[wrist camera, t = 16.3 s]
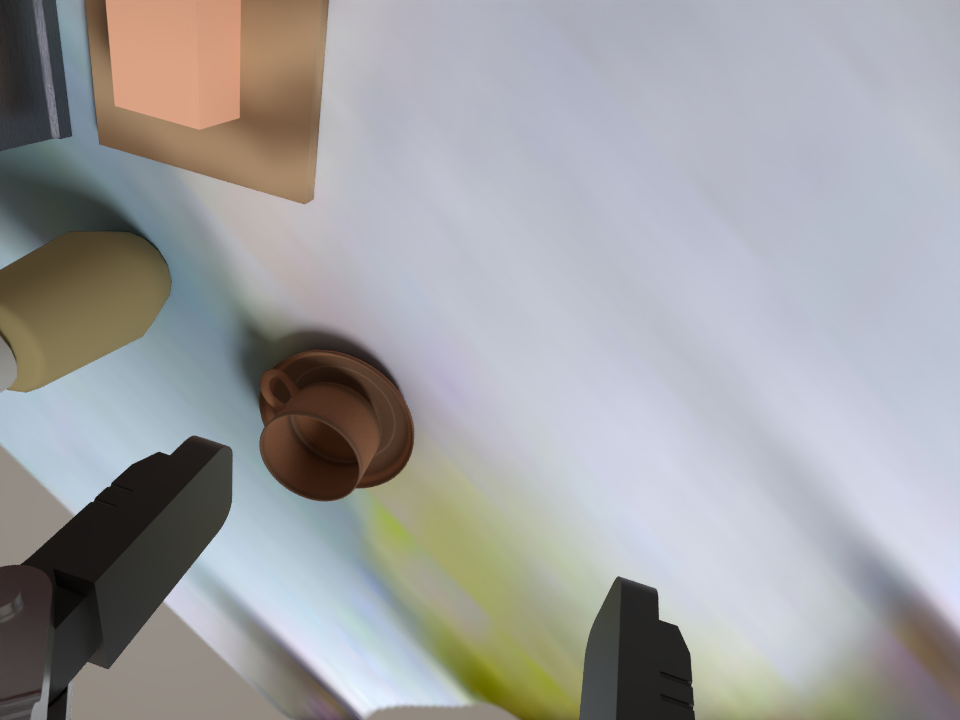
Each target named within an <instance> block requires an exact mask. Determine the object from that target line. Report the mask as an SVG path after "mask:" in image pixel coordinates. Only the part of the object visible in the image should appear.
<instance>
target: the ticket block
mask: <svg viewBox="0 0 960 720" xmlns="http://www.w3.org/2000/svg"><path fill="white" fill-rule="evenodd" d="M106 11H107V22H108V34H109V45H110V56H111V68H112V79H113V91H114V102H115V106H117V107H120V108H124V109H128V110H131V111H135V112H138V113H142V114H145V115H149V116H152V117H156V118H159V119H163V120H166V121H170V122H174V123H177V124H181V125H184V126H188V127H191V128H195V129H198V130H201V129H204V128H207V127H211V126H214V125H218V124H221V123H224V122H228V121H231V120H235V119H238V118H240V32H241V0H106Z"/></svg>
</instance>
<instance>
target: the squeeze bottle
mask: <svg viewBox="0 0 960 720" xmlns="http://www.w3.org/2000/svg"><path fill="white" fill-rule="evenodd" d="M171 283H172V280H171V277H170V273H169V269H168V266H167V264H166V262H165V261H164V259H163V258H162V256H161V254H160V253H159V251H158V250H156V249H155V248H154V247H153V246H152V245H151V244H150V243H149V242H148V241H147V240H145V239H143V238H141V237H139V236H137V235H135V234H133V233H131V232H119V231H71V232H69V233H66V234H64V235H62V236H60V237H58V238H56V239H54V240H52V241H50V242H49V243H47V244H45V245H43V246H41V247H40V248H38V249H36V250H34V251H33V252H31V253H29V254H27V255H26V256H24V257H22V258H20V259H19V260H17V261H15V262H13V263H11V264H10V265H8V266H6V267H4V268H3V269H1V270H0V393H1V392H2V391H4V390H5V389H7V390H11V391H19V392H29V391H32V390H35V389H38V388H41V387H43V386H45V385H47V384H49V383H51V382H53V381H55V380H57V379H59V378H61V377H63V376H65V375H67V374H69V373H71V372H73V371H75V370H77V369H79V368H81V367H83V366H85V365H87V364H89V363H91V362H93V361H95V360H97V359H99V358H101V357H103V356H105V355H107V354H109V353H111V352H113V351H115V350H117V349H119V348H121V347H123V346H125V345H127V344H129V343H131V342H133V341H135V340H137V339H139V338H141V337H142V336H143V335H144V334H145V332H146V331H147V330H148V329H149V327H150V326H151V325H152V323H153V322H154V320H155V318H156V317H157V315H158V313H159V312H160V310H161V308H162V307H163V305H164V303H165V302H166V300H167V299H168V297H169V295H170V290H171Z"/></svg>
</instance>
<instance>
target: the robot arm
mask: <svg viewBox="0 0 960 720" xmlns="http://www.w3.org/2000/svg"><path fill="white" fill-rule="evenodd" d="M232 456H233V455H232V449H231V448H230V447H229V446H226V445H223V444H220V443H217V442H214V441H211V440H208V439H205V438H201V437H198V436H191V437H189V438H188V439H187V440H186V441H184V442H183V443H182V444H181V445H180V446H179V447H178V448H177V449H176V450H175V451H174V452H173V453H172V454H171V455H167V454H164V453H161V452H157V453H155V454H153V455H151V456H149V457H147V458H145V459H143V460H140V461H138V462H136V463H134V464H132V465H131V466H130V467H129V468H128V469H126V470H125V471H124V472H123V473H122V474H121V475H120V476H119V477H118V478H116V479H115V480H114V481H113V482H112V484H111V486H110V487H107V488H105V489H104V490H103V491H102V492H101V493H100V494H99V495H98V496H97V497H96V498H95V500H94V502H93V503H92V502H90V503H89V504H88V505H87V506H86V507H85V508H83V509H82V510H81V511H80V512H79V513H78V514H77V515H76V516H75V517H74V518H72V519H71V520H70V521H69V522H68V523H67V524H66V525H65V526H64V527H63V528H62V529H60V530H59V531H58V532H57V533H56V534H55V535H54V536H53V537H52V538H50V539H49V540H48V541H47V542H46V543H45V544H44V545H43V546H42V547H41V548H39V549H38V550H37V551H36V552H35V553H34V554H33V555H32V556H31V557H29V558H28V559H27V560H26V561H24V562H23V563H22V564H20V565H8V566H3V567H0V720H71V704H72V689H73V683H72V679H73V678H74V677H75V676H76V675H77V673H78V672H79V671H80V670H81V669H82V667H83V666H84V665H85V664H86V663H87V662H90V663H93V664H95V665H98V666H101V667H103V668H106V669H109V668H110V667H111V665H112V664H113V663H114V662H115V660H116V659H117V658H118V657H119V655H120V654H121V653H122V652H123V650H124V649H125V648H126V646H127V645H128V644H129V643H130V642H131V640H132V639H133V638H134V637H135V635H136V634H137V633H138V632H139V630H140V629H141V628H142V626H143V625H144V624H145V623H146V622H147V620H148V619H149V618H150V617H151V615H152V614H153V613H154V612H155V610H156V609H157V608H158V607H159V605H160V604H161V603H162V602H163V600H164V599H165V598H166V597H167V595H168V594H169V593H170V592H171V590H172V589H173V588H174V587H175V585H176V584H177V583H178V582H179V580H180V579H181V578H182V577H183V575H184V574H185V573H186V572H187V570H188V569H189V568H190V567H191V565H192V564H193V563H194V562H195V560H196V559H197V558H198V557H199V555H200V554H201V553H202V552H203V550H204V549H205V548H206V547H207V545H208V544H209V543H210V542H211V540H212V539H213V538H214V537H215V535H216V534H217V533H218V532H219V530H220V529H221V527H222V526H223V524H224V522H225V521H226V518H227V516H228V514H229V511H230V508H231V503H232ZM691 684H692V671H691V657H690V652H689V650H688V648H687V646H686V643H685V641H684V639H683V637H682V635H681V632H680V630H679V628H678V626H676V625H673V624H670V623H667V622H664V621H661V620H659V607H658V592H657V590H656V589H655V588H652V587H649V586H646V585H643V584H640V583H637V582H634V581H631V580H628V579H625V578H622V577H619V576H618V577H617V578H616V579H615V581H614V583H613V585H612V587H611V589H610V591H609V593H608V595H607V597H606V599H605V601H604V603H603V605H602V607H601V609H600V611H599V613H598V615H597V617H596V619H595V621H594V623H593V626H592V628H591V631H590V634H589V638H588V642H587V647H586V653H585V661H584V673H583V684H582V695H581V706H580V717H579V720H695V714H694V711H693V706H694V700H693V688H692V687H691Z"/></svg>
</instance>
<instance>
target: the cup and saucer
mask: <svg viewBox="0 0 960 720" xmlns="http://www.w3.org/2000/svg"><path fill="white" fill-rule="evenodd" d="M260 389H261V392H260V401H259V402H260V413H261V417H262V421H263V424H264V426H265V428H264V429H263V431H262V433H261V437H260V453H261V456H262V459H263V461H264V464H265V465H266V467H267V469H268V470H269V472H270V473H271V474H272V476H273V477H274V478H275V479H276V480H277V481H278V482H279V483H280V484H282V485H283V486H284V487H285V488H287V489H288V490H290V491H292V492H293V493H295V494H297V495H299V496H302V497H304V498H307V499H311V500H316V501H334V500H338V499H341V498H344V497H346V496H347V495H349V494H350V493H351V492H352V491H353V490H354V489H355V488H369V487H374V486H378V485H381V484H383V483H385V482H387V481H389V480H391V479H393V478H394V477H395V476H397V475H398V474H399V473H400V472H401V471H402V470H403V468H404V467H405V466H406V464H407V462H408V461H409V458H410V456H411V453H412V449H413V444H414V425H413V420H412V416H411V413H410V410H409V408H408V406H407V404H406V402H405V400H404V398H403V397H402V395H401V394H400V392H399V391H398V390H397V388H396V387H395V386H394V385H393V384H392V383H391V382H390V381H389V380H388V379H387V378H386V377H385V376H384V375H383V374H382V373H381V372H379V371H378V370H377V369H375V368H374V367H372V366H371V365H369V364H368V363H366V362H364V361H362V360H360V359H358V358H355V357H353V356H350V355H347V354H344V353H340V352H336V351H330V350H310V351H304V352H300V353H297V354H294V355H291V356H289V357H288V358H286V359H284V360H282V361H281V362H279V363H278V364H277V365H276V366H274V367H273V368H272V369H270V370H267V371H266V372H264V373H263V375H262V377H261V379H260Z"/></svg>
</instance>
